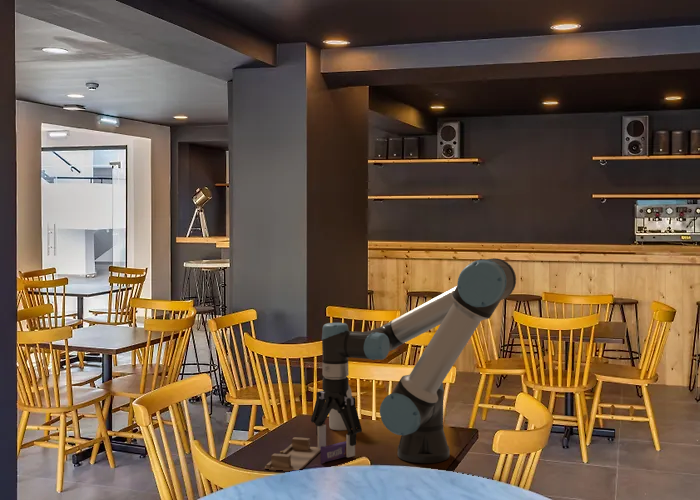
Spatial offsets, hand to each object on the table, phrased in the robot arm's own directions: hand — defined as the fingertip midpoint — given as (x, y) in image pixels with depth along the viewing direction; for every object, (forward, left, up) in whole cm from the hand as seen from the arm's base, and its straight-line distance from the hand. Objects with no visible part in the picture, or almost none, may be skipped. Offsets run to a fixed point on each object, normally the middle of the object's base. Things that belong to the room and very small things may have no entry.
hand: (336, 452), depth 222 cm
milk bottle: (+24, -25, -2) cm, 35 cm away
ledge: (+9, +8, -2) cm, 12 cm away
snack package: (0, 0, -3) cm, 3 cm away
